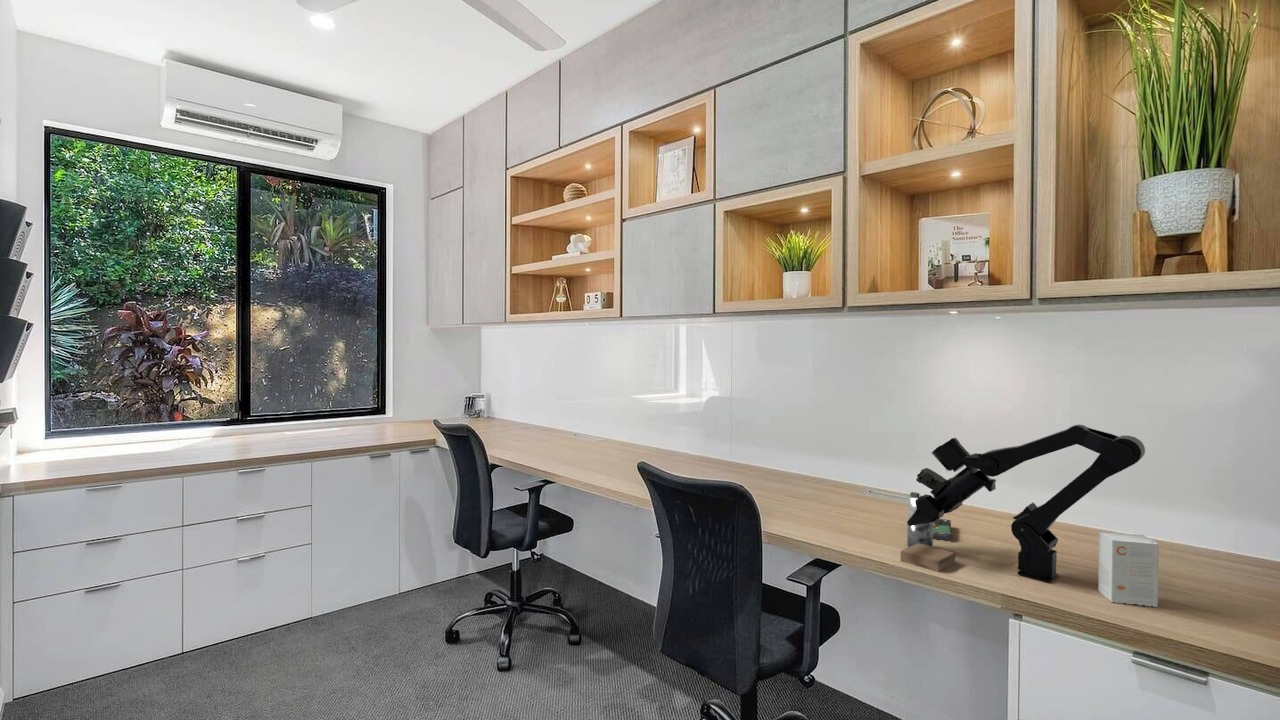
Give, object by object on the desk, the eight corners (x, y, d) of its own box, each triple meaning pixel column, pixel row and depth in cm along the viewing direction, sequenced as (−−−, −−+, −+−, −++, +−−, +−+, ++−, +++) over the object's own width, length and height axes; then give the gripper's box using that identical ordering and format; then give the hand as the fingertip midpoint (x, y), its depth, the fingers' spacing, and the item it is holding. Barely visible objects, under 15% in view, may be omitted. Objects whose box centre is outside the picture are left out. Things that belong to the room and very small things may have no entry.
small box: (1142, 595, 126) (1143, 534, 125) (1158, 608, 120) (1160, 543, 119) (1096, 590, 128) (1098, 530, 128) (1110, 602, 122) (1112, 539, 122)
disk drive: (911, 524, 177) (909, 538, 164) (911, 515, 177) (909, 527, 164) (950, 529, 173) (951, 543, 159) (950, 519, 173) (952, 533, 159)
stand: (954, 562, 144) (955, 552, 144) (938, 571, 138) (938, 561, 138) (917, 552, 151) (917, 543, 151) (900, 560, 145) (900, 550, 145)
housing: (936, 548, 154) (938, 494, 154) (926, 553, 150) (927, 498, 150) (913, 542, 159) (914, 490, 159) (903, 547, 155) (904, 493, 155)
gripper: (950, 455, 158) (907, 489, 166) (924, 464, 145) (878, 501, 153) (982, 490, 153) (936, 523, 161) (959, 503, 139) (909, 539, 147)
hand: (915, 520), depth 155 cm, fingers open, 9 cm apart
